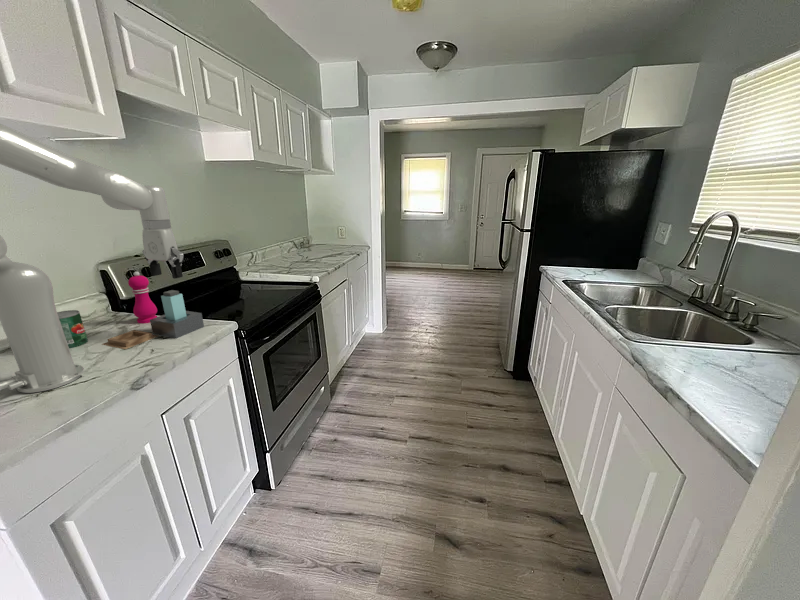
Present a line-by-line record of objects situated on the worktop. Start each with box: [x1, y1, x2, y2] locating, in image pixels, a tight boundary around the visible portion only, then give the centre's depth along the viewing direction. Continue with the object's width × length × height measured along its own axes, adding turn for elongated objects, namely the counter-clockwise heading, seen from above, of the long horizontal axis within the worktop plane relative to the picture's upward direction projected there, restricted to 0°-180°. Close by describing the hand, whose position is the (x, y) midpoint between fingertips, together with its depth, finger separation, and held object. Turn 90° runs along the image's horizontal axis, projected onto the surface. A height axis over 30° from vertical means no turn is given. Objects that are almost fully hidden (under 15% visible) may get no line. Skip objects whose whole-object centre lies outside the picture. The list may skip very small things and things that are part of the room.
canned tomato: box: [57, 309, 89, 349], centre depth 104 cm, size 8×8×11 cm
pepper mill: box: [127, 271, 158, 325], centre depth 123 cm, size 7×7×20 cm
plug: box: [160, 289, 187, 321], centre depth 115 cm, size 4×4×11 cm
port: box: [149, 310, 205, 339], centre depth 117 cm, size 11×11×6 cm
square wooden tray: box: [101, 329, 159, 350], centre depth 109 cm, size 11×11×2 cm
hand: (167, 276), depth 111 cm, fingers open, 9 cm apart
